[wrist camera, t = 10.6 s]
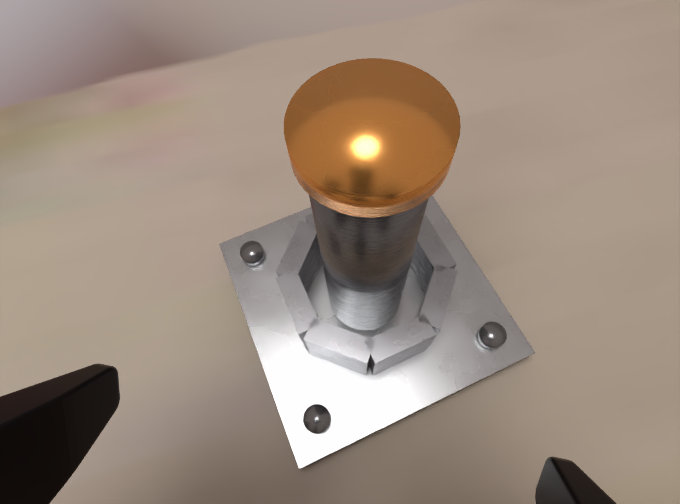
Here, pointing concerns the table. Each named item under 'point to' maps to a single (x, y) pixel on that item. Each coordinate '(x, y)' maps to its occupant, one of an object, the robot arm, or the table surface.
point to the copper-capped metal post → (370, 175)
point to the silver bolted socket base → (366, 333)
